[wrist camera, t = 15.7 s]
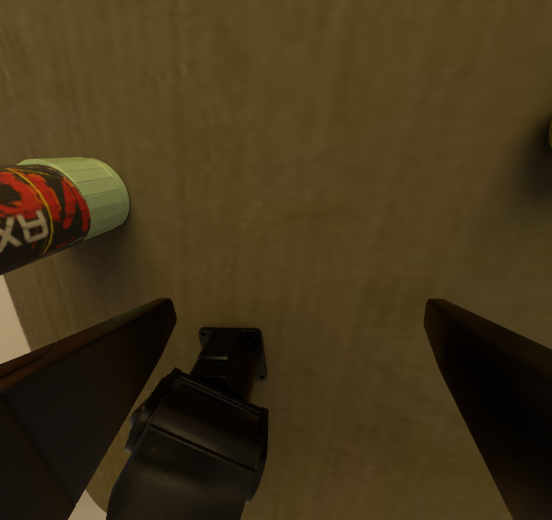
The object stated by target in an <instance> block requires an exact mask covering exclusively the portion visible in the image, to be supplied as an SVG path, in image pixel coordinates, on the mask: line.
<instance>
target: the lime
mask: <svg viewBox="0 0 552 520" xmlns="http://www.w3.org/2000/svg"><path fill="white" fill-rule="evenodd" d="M548 140H549V143H550V146H551V148H552V119H551V122H550V126H549V135H548Z"/></svg>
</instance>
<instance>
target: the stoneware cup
mask: <svg viewBox="0 0 552 520" xmlns="http://www.w3.org/2000/svg"><path fill="white" fill-rule="evenodd" d="M29 164H40V165H47V166H50V167H52V168H54V169H57V170H59V171H60V172H62V173H63V174H64V175H66V176H67V177H69V178H70V179H71V181H72V182H73V183H74V184H75V185H76V186H77V187H78V188H79V190H80V191H81V193H82V194H83V196H84V198H85V200H86V202H87V205H88V207H89V211H90V217H91V224H90V230H89V233H88V235H87V237H86V238H85V239H84V240H83V241H85V240H87V239H90V238H92V237H95V236H97V235H100V234H102V233H105V232H107V231H109V230H112V229H114V228H117V227H119V226H120V225H121V224H122V223H123V222H124V221H125V220H126V218H127V216H128V213H129V208H130V201H129V195H128V192H127V189H126V187H125V185H124V183H123V181H122V179H121V178H120V177H119V175H118V174H117V173H116V172H115V171H114V170H113V169H112V168H111V167H110V166H108V165H107V164H105V163H104V162H102V161H100V160H97V159H94V158H89V157H75V158H50V159H31V160H24V161H22V162H21V163H19V164H17V165H29Z"/></svg>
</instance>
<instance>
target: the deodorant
mask: <svg viewBox="0 0 552 520" xmlns="http://www.w3.org/2000/svg"><path fill="white" fill-rule="evenodd" d="M90 224H91V217H90V211H89V207H88V205H87V202H86V200H85V198H84V196H83V194H82V193H81V191H80V190H79V188H78V187H77V186H76V185H75V184H74V183H73V182H72V181H71V179H70V178H69V177H67V176H66V175H64V174H63V173H62V172H60V171H59V170H57V169H54V168H52V167H50V166H47V165H40V164H29V165H12V166H0V275H3V274H5V273H8V272H10V271H13V270H15V269H17V268H20V267H22V266H25V265H27V264H30V263H32V262H35V261H37V260H40V259H42V258H45V257H47V256H50V255H52V254H55V253H57V252H60V251H62V250H65V249H67V248H70V247H72V246H74V245H77V244H79V243H81V242H82V241H83V240H84V239H85V238H86V237H87V235H88V233H89V230H90Z"/></svg>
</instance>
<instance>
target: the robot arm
mask: <svg viewBox="0 0 552 520" xmlns="http://www.w3.org/2000/svg"><path fill="white" fill-rule="evenodd" d="M176 321H177V316H176V312H175V309H174V305H173V302H172V300H171V299H170V298H159V299H157V300H154V301H152V302H149V303H147V304H145V305H142V306H140V307H138V308H135V309H133V310H130V311H128V312H126V313H123V314H121V315H119V316H116V317H114V318H111V319H109V320H107V321H104V322H102V323H99V324H97V325H95V326H92V327H90V328H88V329H85V330H83V331H80V332H78V333H76V334H73V335H71V336H69V337H66V338H64V339H61V340H59V341H57V342H54V343H52V344H49V345H47V346H45V347H42V348H40V349H37V350H35V351H32V352H30V353H28V354H25V355H23V356H20V357H18V358H15V359H12V360H10V361H8V362H5V363H2V364H0V520H68V518H69V517H70V515H71V513H72V511H73V510H74V508H75V506H76V503H77V502H78V501H79V499H80V497H81V495H82V493H83V492H84V490H85V488H86V487H87V485H88V483H89V481H90V480H91V478H92V476H93V475H94V473H95V471H96V469H97V468H98V466H99V464H100V462H101V461H102V459H103V457H104V455H105V454H106V452H107V450H108V448H109V447H110V445H111V443H112V441H113V440H114V438H115V436H116V434H117V433H118V431H119V429H120V427H121V426H122V424H123V422H124V420H125V419H126V417H127V415H128V413H129V412H130V410H131V408H132V407H133V405H134V403H135V401H136V400H137V398H138V396H139V394H140V393H141V391H142V389H143V387H144V386H145V384H146V382H147V380H148V379H149V377H150V375H151V373H152V372H153V370H154V368H155V366H156V365H157V363H158V361H159V359H160V357H161V355H162V353H163V351H164V349H165V347H166V344H167V342H168V340H169V338H170V335H171V333H172V331H173V329H174V326H175V324H176ZM424 328H425V331H426V333H427V336H428V339H429V342H430V345H431V348H432V350H433V353H434V356H435V359H436V362H437V364H438V367H439V369H440V372H441V374H442V376H443V378H444V380H445V382H446V384H447V386H448V388H449V390H450V392H451V394H452V396H453V398H454V400H455V402H456V404H457V406H458V409H459V411H460V413H461V415H462V417H463V419H464V421H465V423H466V425H467V427H468V429H469V431H470V433H471V435H472V437H473V439H474V441H475V443H476V445H477V447H478V449H479V451H480V453H481V455H482V457H483V459H484V461H485V463H486V465H487V467H488V469H489V471H490V473H491V476H492V478H493V480H494V482H495V484H496V486H497V488H498V490H499V492H500V494H501V496H502V498H503V500H504V502H505V504H506V506H507V508H508V510H509V512H510V514H511V516H512V518H513V520H552V349H549V348H547V347H545V346H543V345H541V344H539V343H536V342H534V341H532V340H530V339H528V338H526V337H524V336H521V335H519V334H517V333H515V332H513V331H511V330H508V329H506V328H504V327H502V326H500V325H498V324H496V323H493V322H491V321H489V320H487V319H485V318H483V317H480V316H478V315H476V314H474V313H472V312H470V311H468V310H465V309H463V308H461V307H459V306H457V305H455V304H452V303H450V302H448V301H446V300H444V299H429V300H428V301H427V303H426V309H425V315H424ZM203 332H205V333H203ZM255 333H257V335H256V334H255ZM199 338H200V342H201V346H202V351H201V352H200V354H199V356H198V360H197V361H196V363H195V365H194V367H193V369H192V370H191V372H190V374H189V375H188V374H186V373H184V372H181V370H180V369H178V368H176V367H175V368H174V369H173V371H172V372H171V373H170V374H167V376H166V377H165V378H162V379H161V380H160V382H159V383H158V385H157V386H156V388H155V389H154V391H153V392H152V393H151V395H150V396H149V397H148V398H147V399H146V400H145V401H144V402H143V403H142V404H141V405H140V406H139V407H138V408H137V409H136V410H135V411H134V412H133V414H132V415H131V417H130V419H129V421H130V427H131V430H130V432H129V435H128V440H127V442H126V445H125V447H124V451H126V452H128V453H131V455H130V457H129V459H128V461H127V463H126V464H125V466H124V468H123V470H122V472H121V474H120V475H119V477H118V479H117V481H116V483H115V484H114V486H113V489H112V491H111V496H110V499H109V504H108V510H107V516H106V520H240V518H241V515H242V512H243V509H244V506H245V503H247V504H248V503H249V502H250V501H251V500H252V498H253V497H254V495H255V493H256V491H257V488H258V486H259V483H260V480H261V477H262V474H263V470H264V467H265V462H266V457H267V448H268V409H266V408H264V407H262V408H261V407H259V406H256V405H254V404H252V403H250V402H249V401H250V397H251V393H252V389H253V386H254V382H255V380H265V379H266V377H267V371H266V363H265V356H264V348H263V340H262V333H261V331H260V330H259V329H257V328H212V327H203V328H201V329H200V330H199ZM261 375H263V376H261Z"/></svg>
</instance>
